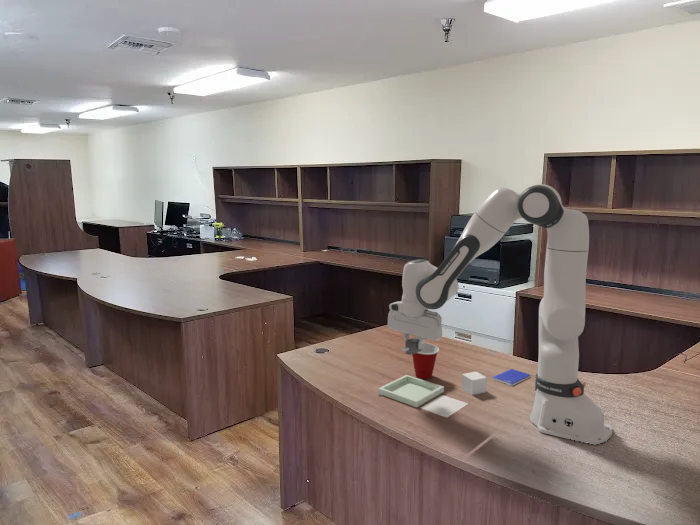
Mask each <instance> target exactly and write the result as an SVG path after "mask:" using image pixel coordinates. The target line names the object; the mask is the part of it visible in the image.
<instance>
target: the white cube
mask: <svg viewBox="0 0 700 525" xmlns="http://www.w3.org/2000/svg"><path fill="white" fill-rule="evenodd" d="M487 380H488V377H486V376H485V375H484V374H481V373H479V372H478V371H471V372H467V373H466V372H465V373H462V374H461V389H462V390H463V391H465V392H466V393H467V394H470V395H471V396H474V395H480V394H483V393H484V394H485V393H487Z"/></svg>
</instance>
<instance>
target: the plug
mask: <svg viewBox="0 0 700 525" xmlns="http://www.w3.org/2000/svg"><path fill="white" fill-rule="evenodd" d="M404 341H405V340H404ZM419 341H420V340H419V337H418V336H414V337H412V338H410V339H409V340H406V341H405V342H404V344H405V345H404V346H405V347H402V348H401V350H402V351H403V352H404V353H405V354H406V355H410V356H411V355H412V354H415V353H417V352H419V351H421V350H422V349H417V348H416V344H417V343H419Z"/></svg>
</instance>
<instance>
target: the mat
mask: <svg viewBox="0 0 700 525" xmlns="http://www.w3.org/2000/svg"><path fill="white" fill-rule="evenodd" d="M467 405H469V403H468V402H465V401H462V400H459V399H456V398H453V397H450V396H447V395H444V394H440V395H439V396H437V397H435V399H432V400H430V401H428V402H427V403H426V404H423V405H421V407H420V409H422V410H424V411H427V412H430V413H433V414H436V415H438V416H441V417H444V418H449V417H451V416H452V415H453V414H455V413H457V412H458V411H460V410H462V409H463V408H464V407H466V406H467Z"/></svg>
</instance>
